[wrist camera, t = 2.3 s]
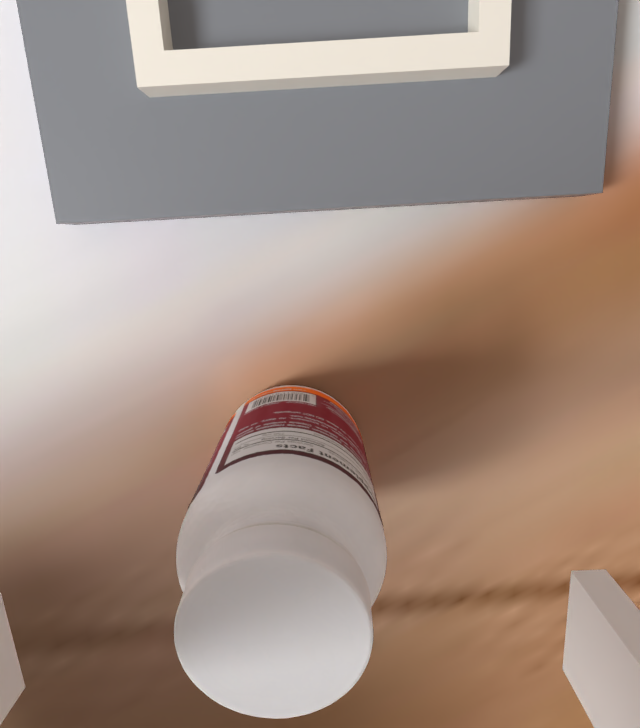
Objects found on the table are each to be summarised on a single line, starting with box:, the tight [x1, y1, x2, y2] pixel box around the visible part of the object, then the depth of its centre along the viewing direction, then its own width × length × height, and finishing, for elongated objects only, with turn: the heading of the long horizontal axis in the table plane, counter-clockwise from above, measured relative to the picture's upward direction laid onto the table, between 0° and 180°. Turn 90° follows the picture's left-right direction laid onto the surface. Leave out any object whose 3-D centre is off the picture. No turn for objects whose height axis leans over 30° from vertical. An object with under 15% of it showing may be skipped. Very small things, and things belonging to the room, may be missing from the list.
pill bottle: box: [174, 385, 387, 719], centre depth 17 cm, size 6×6×11 cm
